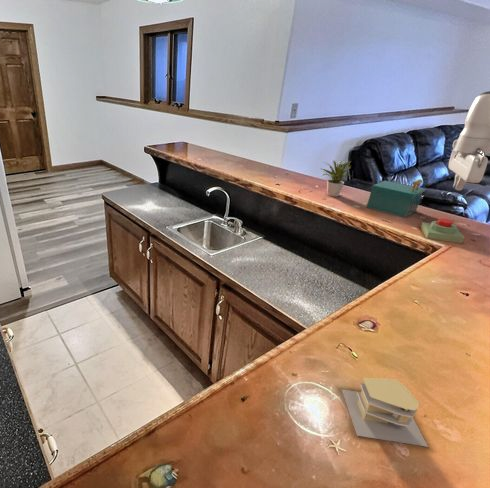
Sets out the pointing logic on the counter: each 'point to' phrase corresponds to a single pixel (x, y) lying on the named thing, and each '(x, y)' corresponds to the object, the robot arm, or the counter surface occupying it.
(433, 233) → the console
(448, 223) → the button
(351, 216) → the counter surface
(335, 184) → the house plant
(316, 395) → the counter surface
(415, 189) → the lid
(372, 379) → the stacked layers on plate
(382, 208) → the chest
